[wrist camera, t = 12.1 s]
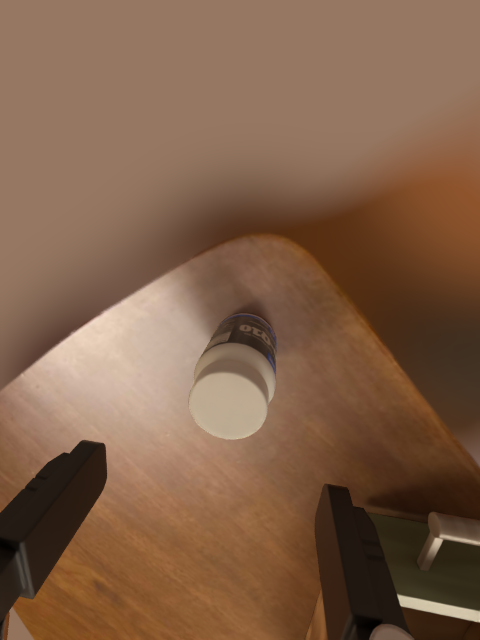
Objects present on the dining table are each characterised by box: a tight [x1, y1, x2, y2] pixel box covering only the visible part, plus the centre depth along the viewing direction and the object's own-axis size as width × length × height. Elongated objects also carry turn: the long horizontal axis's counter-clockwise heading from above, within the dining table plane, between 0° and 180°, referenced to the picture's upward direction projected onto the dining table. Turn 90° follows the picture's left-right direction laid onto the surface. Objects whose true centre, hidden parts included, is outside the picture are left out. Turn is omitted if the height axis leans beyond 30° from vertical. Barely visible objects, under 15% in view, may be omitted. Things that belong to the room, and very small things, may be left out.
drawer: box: [366, 512, 480, 640], centre depth 24 cm, size 19×13×6 cm
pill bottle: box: [189, 313, 277, 439], centre depth 18 cm, size 5×5×8 cm
